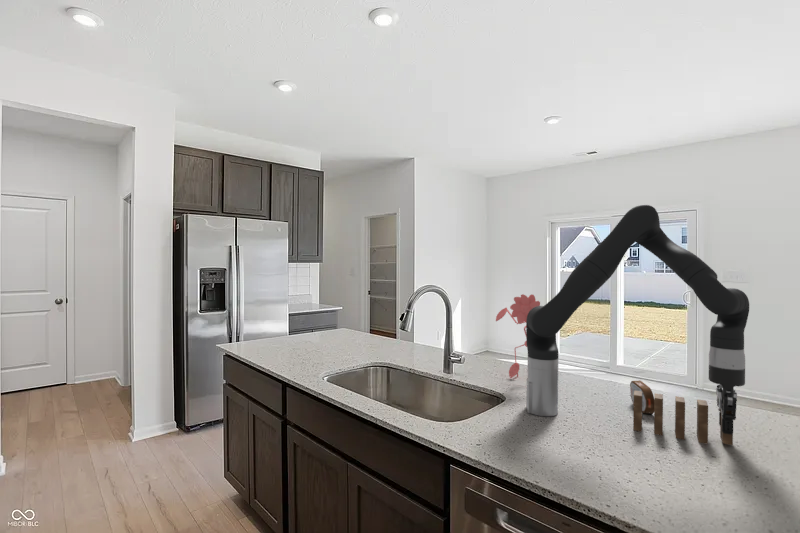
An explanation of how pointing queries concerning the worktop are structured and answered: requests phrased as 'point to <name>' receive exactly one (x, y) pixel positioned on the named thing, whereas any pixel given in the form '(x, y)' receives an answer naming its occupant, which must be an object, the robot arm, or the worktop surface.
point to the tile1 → (637, 411)
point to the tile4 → (702, 421)
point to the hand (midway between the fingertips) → (725, 429)
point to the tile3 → (680, 417)
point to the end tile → (724, 437)
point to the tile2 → (658, 414)
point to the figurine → (519, 319)
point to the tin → (643, 396)
